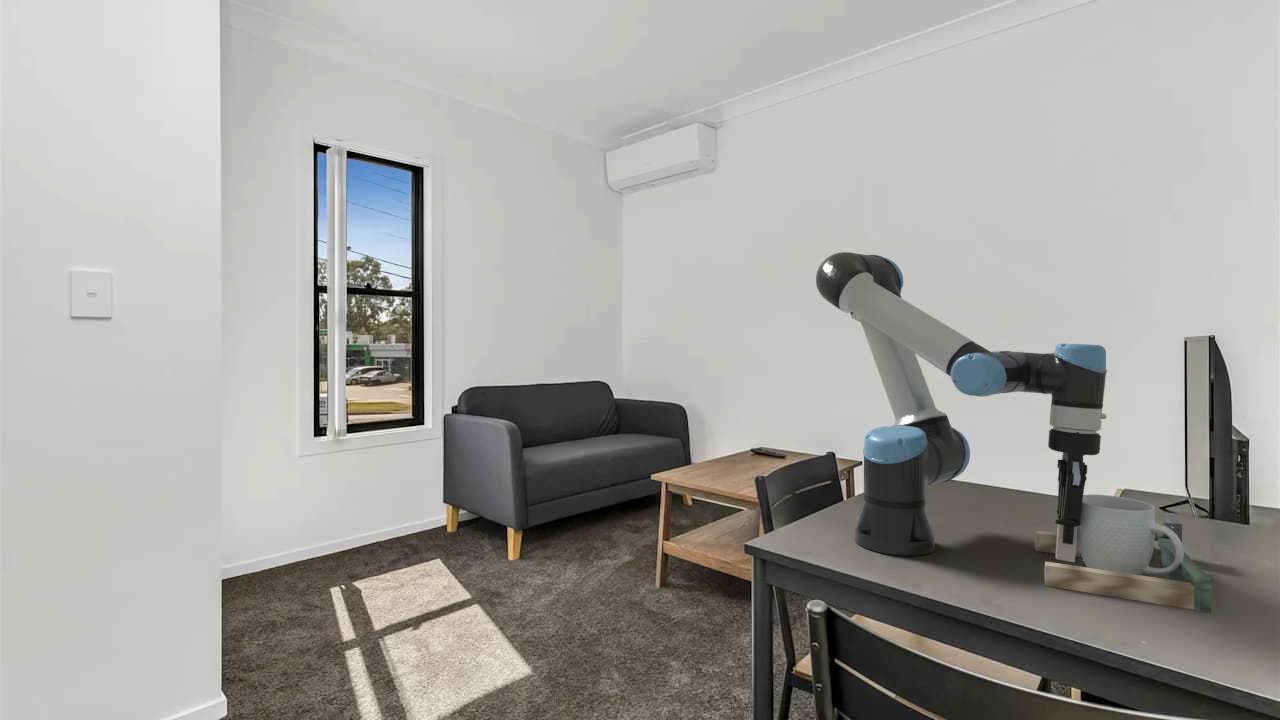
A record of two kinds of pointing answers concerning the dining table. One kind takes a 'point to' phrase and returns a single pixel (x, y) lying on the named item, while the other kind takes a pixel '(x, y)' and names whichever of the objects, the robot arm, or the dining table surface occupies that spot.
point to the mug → (1121, 535)
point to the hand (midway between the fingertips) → (1065, 559)
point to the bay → (1133, 578)
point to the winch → (1172, 525)
